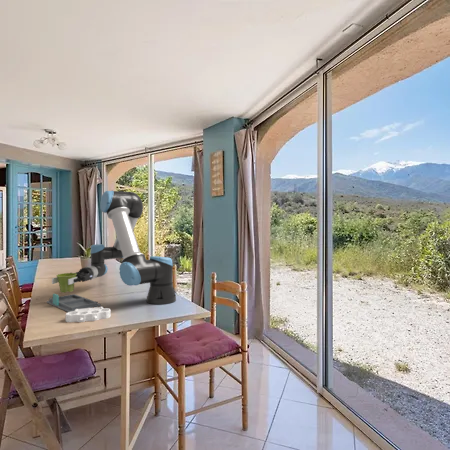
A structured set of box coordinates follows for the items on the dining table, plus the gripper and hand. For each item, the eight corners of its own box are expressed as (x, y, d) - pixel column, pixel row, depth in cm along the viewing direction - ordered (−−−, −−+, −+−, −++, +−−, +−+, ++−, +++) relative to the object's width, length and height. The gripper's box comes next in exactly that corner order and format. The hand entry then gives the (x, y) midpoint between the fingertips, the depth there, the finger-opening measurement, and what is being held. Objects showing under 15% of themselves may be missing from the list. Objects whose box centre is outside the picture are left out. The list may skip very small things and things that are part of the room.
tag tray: (100, 306, 160) (100, 294, 160) (69, 312, 149) (69, 300, 149) (76, 297, 178) (75, 286, 178) (46, 302, 167) (46, 291, 167)
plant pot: (68, 293, 163) (68, 276, 162) (52, 292, 164) (52, 275, 164) (80, 289, 172) (80, 273, 171) (65, 288, 174) (64, 272, 173)
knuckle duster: (110, 311, 153) (110, 320, 139) (68, 315, 146) (64, 325, 133) (110, 304, 153) (110, 313, 139) (67, 308, 146) (63, 317, 133)
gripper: (104, 280, 184) (79, 290, 161) (71, 279, 188) (42, 287, 165) (104, 267, 183) (79, 275, 161) (71, 266, 187) (41, 273, 165)
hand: (60, 281), depth 163 cm, fingers closed on plant pot, 8 cm apart
